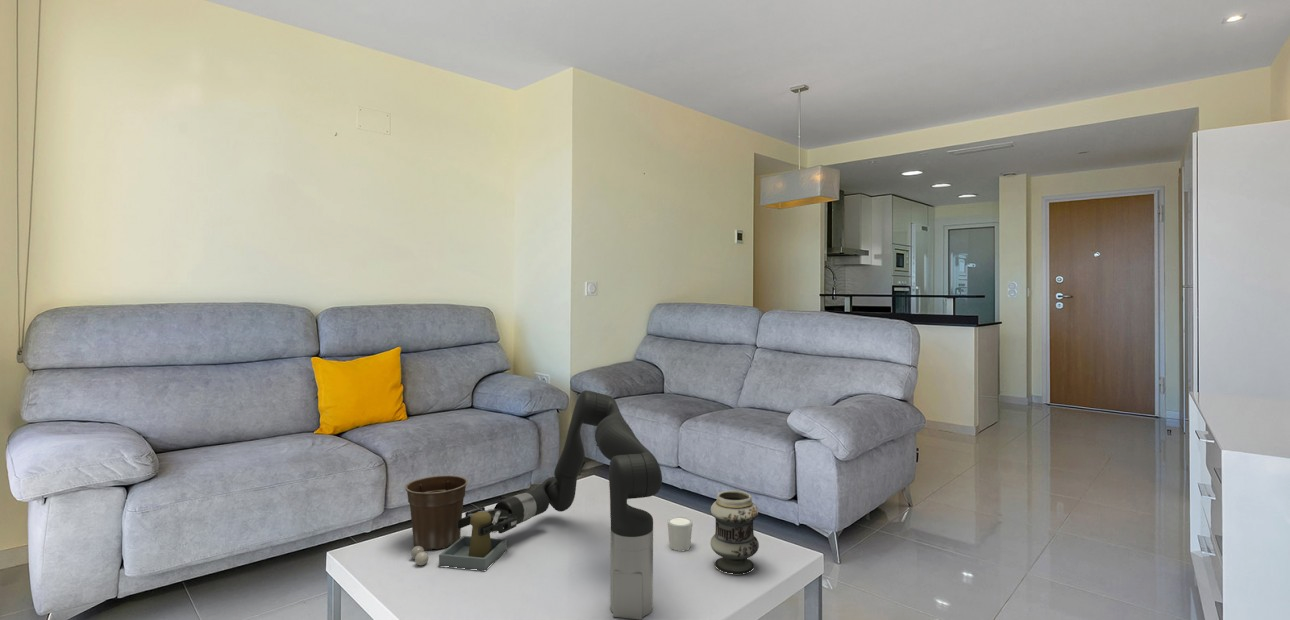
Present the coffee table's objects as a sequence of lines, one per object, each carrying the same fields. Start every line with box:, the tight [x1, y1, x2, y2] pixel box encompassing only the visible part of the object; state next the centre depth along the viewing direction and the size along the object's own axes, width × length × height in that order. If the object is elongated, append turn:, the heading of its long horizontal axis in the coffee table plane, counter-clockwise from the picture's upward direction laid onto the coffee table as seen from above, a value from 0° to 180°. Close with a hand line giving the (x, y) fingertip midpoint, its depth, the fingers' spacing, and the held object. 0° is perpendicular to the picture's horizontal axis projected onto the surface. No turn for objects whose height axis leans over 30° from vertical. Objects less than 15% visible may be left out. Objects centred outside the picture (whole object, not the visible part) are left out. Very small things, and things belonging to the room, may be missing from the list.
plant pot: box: [404, 475, 468, 551], centre depth 164 cm, size 16×16×16 cm
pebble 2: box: [414, 551, 430, 566], centre depth 150 cm, size 3×3×3 cm
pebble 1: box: [410, 546, 425, 560], centre depth 153 cm, size 3×3×3 cm
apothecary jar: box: [709, 490, 760, 575], centre depth 150 cm, size 12×12×18 cm
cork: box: [468, 512, 492, 558], centre depth 153 cm, size 6×6×11 cm
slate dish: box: [438, 535, 507, 571], centre depth 153 cm, size 12×12×3 cm
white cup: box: [667, 516, 693, 552], centre depth 161 cm, size 7×7×7 cm
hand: (468, 528), depth 152 cm, fingers open, 8 cm apart
